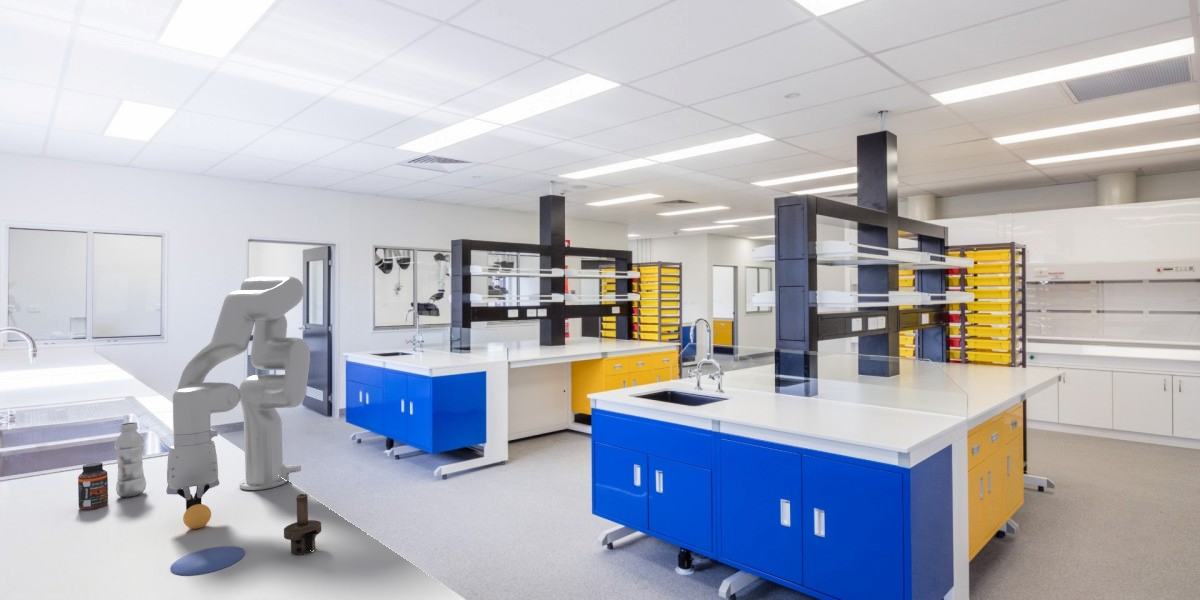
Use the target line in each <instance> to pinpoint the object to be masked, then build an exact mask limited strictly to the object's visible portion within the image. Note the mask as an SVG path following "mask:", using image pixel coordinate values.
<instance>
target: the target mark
mask: <svg viewBox="0 0 1200 600" xmlns="http://www.w3.org/2000/svg"><path fill="white" fill-rule="evenodd" d="M245 555H246V551H245V549H244V548H242V547H239V546H234V545H224V546H223V545H222V546H215V547H208V548H205V549H201V550H198V551H197V550H196V551H193V552H192V553H189V554H186V555H184V556H181V557H180V558H178V559H177V560H175V561H173V562H172V564H171V566H170V568H169V569H170V572H171V573H172V574H174V573H175V575H178V576H196V575H197V576H198V575H203V574H204V575H205V574H209V573H212V572H216V571H219V570H222V569H226V568H229V567H230V566H232V565H234V564H236V563H238V562H239V561H241V559H243V558H244V557H245Z"/></svg>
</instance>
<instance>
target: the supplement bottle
mask: <svg viewBox="0 0 1200 600" xmlns="http://www.w3.org/2000/svg"><path fill="white" fill-rule="evenodd" d="M103 467H104V465H103V462H102V461H99V462H98V461H97V462H88V463H86V464H83V465H82V472H81V473H80V474H79V475H78V477H77V486H78V489H77V490H78V494H77V495H78V496H77V497H78V509H79V510H80V511H81V510H82V511H91V510H96V509H102V508H103V507H105V506H107V505H108V503H109V479H108V471H107V470H105V469H103Z"/></svg>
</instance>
